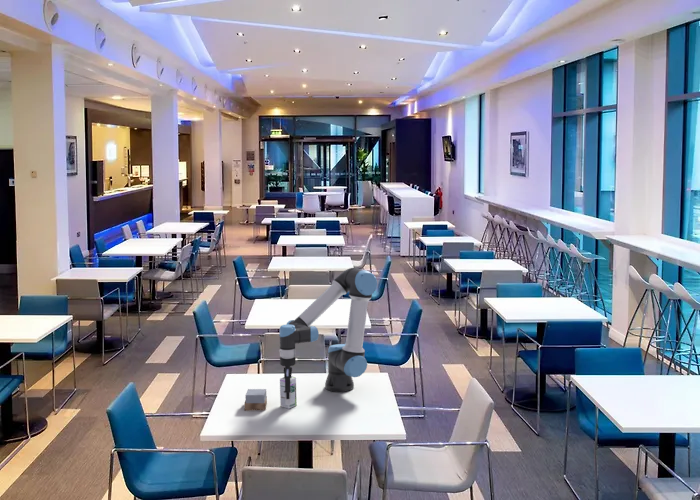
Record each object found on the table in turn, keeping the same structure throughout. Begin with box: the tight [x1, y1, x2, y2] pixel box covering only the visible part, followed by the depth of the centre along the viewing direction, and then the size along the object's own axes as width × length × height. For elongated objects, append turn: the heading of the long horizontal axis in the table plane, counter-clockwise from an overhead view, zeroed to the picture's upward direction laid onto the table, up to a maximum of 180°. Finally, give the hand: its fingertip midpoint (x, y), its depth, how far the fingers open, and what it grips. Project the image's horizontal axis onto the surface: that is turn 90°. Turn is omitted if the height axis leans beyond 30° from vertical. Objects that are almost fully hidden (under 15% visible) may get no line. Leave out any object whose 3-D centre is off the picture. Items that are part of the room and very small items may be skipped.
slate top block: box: [245, 388, 267, 403], centre depth 365 cm, size 9×9×4 cm
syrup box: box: [279, 375, 298, 410], centre depth 365 cm, size 6×6×14 cm
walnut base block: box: [244, 395, 268, 412], centre depth 365 cm, size 10×10×4 cm
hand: (288, 401), depth 366 cm, fingers closed on syrup box, 8 cm apart
